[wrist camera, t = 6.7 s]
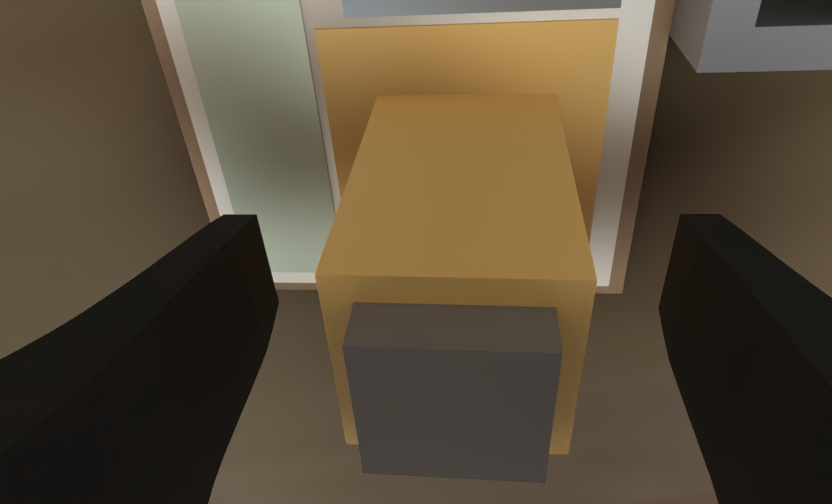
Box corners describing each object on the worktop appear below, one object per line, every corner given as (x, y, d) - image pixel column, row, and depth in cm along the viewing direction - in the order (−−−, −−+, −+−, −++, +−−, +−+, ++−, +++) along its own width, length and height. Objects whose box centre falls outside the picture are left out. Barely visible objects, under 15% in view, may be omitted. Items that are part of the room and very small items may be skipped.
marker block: (542, 239, 14) (574, 502, 9) (389, 237, 14) (336, 489, 9) (555, 94, 12) (608, 326, 7) (377, 95, 12) (300, 318, 7)
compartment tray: (618, 280, 16) (624, 301, 15) (237, 276, 17) (227, 295, 16) (699, -184, 10) (714, -182, 9) (111, -144, 11) (88, -139, 10)
